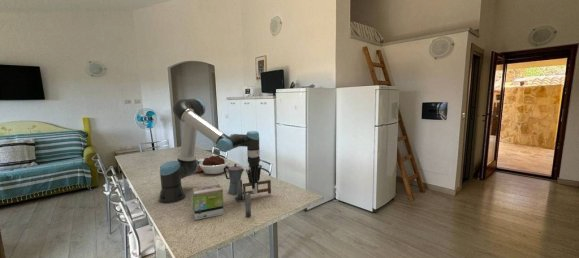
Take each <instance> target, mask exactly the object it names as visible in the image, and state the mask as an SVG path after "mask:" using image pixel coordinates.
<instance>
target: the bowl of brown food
mask: <svg viewBox="0 0 579 258" xmlns="http://www.w3.org/2000/svg"><path fill="white" fill-rule="evenodd" d="M229 165H230V160H229V159H227V158H223V157H221V156H220V155H215V156H214V155H211V156H209V157H205V158H204V159H203V160H202V161H200V162H198V167H199V168H200V169H201V170H202V171H203V173H204V174H207V175H219V174H222V173H224V168H225V166H229ZM225 170H226V171H227V168H226V169H225Z"/></svg>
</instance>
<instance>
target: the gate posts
mask: <svg viewBox="0 0 579 258" xmlns="http://www.w3.org/2000/svg"><path fill="white" fill-rule="evenodd" d="M237 189H238V194H237V196H236V197H234V201H235V203H236V204H239V203H244V209H245V212H244V213H245V218H250V217H252V207H251V205H252V204H251V203H252V202H251V201H252V199H251V194H250V192H247V191H246V193H245V198H244V195H243V180H242V179H241V180H237Z"/></svg>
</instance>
